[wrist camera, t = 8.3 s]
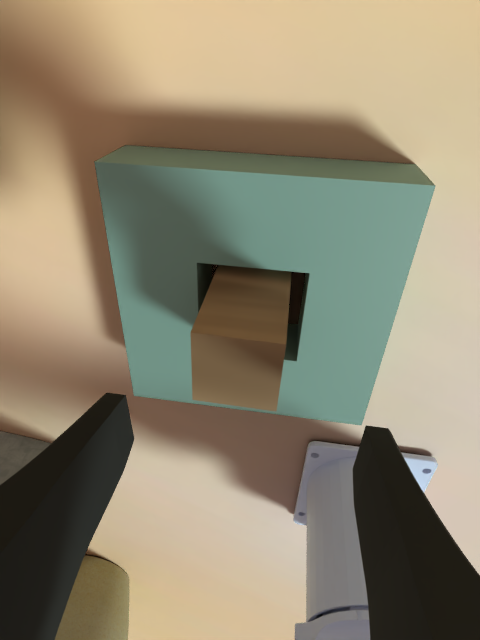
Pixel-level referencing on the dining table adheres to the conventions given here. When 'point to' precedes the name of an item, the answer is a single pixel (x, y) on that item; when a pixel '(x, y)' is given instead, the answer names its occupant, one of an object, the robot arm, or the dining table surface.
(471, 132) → the dining table surface
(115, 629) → the plant pot
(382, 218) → the socket block
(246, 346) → the peg
